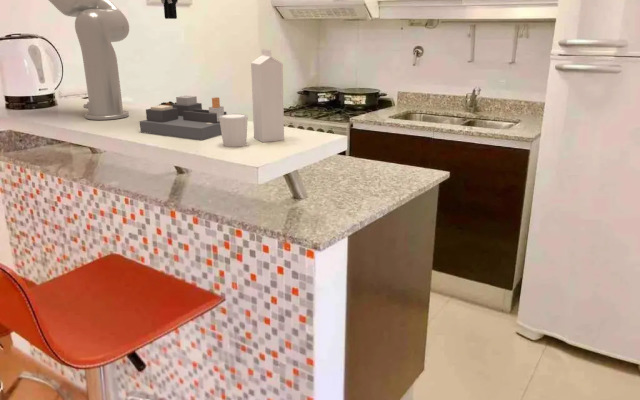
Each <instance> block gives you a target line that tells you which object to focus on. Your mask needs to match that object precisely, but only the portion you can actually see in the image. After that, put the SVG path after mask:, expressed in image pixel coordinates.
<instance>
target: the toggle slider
mask: <svg viewBox="0 0 640 400" xmlns="http://www.w3.org/2000/svg"><path fill="white" fill-rule="evenodd" d="M220 102H221V101H220V97H218V96H217V97H215V96H214V97H212V98H211V104H212V106H209V107H208V110H209V113H211V114H217V122H219V121H220V120H219V116H221V115H224V112H225V107H224V106H222V105H221V103H220Z"/></svg>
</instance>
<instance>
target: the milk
mask: <svg viewBox="0 0 640 400" xmlns="http://www.w3.org/2000/svg"><path fill="white" fill-rule="evenodd" d="M250 66H251V67H250V69H251V71H250V72H251V93H252V115H253V117H252V119H253V120H252V121H253V122H252V124H253V138H254V139H255V140H258V141H260V142H261V143H268V142H277V141H284V140H285V123H284V122H285V120H284V119H285V118H284V116H285V115H284V71H283V67H284V66H283V63H282V62H281V61H279V60H277V59H276V58H274V57H272V51H271V49H265V48H262V49H261V55H260V56H259V57H257V58H256V59H254V60H253V61H251V63H250Z"/></svg>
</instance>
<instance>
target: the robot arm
mask: <svg viewBox="0 0 640 400" xmlns="http://www.w3.org/2000/svg"><path fill="white" fill-rule="evenodd" d="M48 1H49V3H51V4H52V6H54V7H55V8H56V9H57V11H59V13H61V14H63V15H64V16H66V17H75V21H74V29H75V34H76V37H77V39H78V42H79V47H80V50H81V55H82V61H83V68H84V76H85V83H86V90H87V91H86V92H87V95H88V97H87V99H88V101H86V103H84V104H83V106H82V107H83V108H84V109H87V111H88V112H87V113H85V115H84V117H85V118H86V119H87V120H95V121H102V120H103V121H104V120H105V121H107V120H117V119H122V118H123V119H124V118H127V117H129V116H130V114H129V111H128V110H124V108H123V99H122V92H121V91H122V90H121V82H120V75H119V74H120V73H119V66H118V65H119V64H118V59H117V54H116V51H115V49H114V47H113V45H112V43H115V42H116V43H117V42H120V41H121V42H122V41H123V40H126V38H127V37H128V35H129V33H130V24H129V21H128V19H127V17H126V15H125V14H124V13H123V12H122V10H120V9H119V8H118V7H117V6H116V5H115V4H114V3H113V2H112V1H111V0H48ZM178 1H179V0H160V2H161V4H163V11H164V12H163V14H164V19H166V20H170V19H171V20H172V19H173V20H175V19H178V17H177V16H178V14H177V4H178V3H179V2H178Z"/></svg>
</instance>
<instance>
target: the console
mask: <svg viewBox="0 0 640 400" xmlns="http://www.w3.org/2000/svg"><path fill="white" fill-rule="evenodd" d="M202 105H203V104H202V102H197V104H193V105H188V106H187V105H177V104H172V108H173V109H168V110H163V111H160V110H151V108H147V109H145V115H146V119H144V120H140V121H139V130H140V133H143V134H144V133H145V134H149V135H150V134H151V135H157V136H158V135H160V136H166V137H167V136H168V137H176V138H179V139H181V138H182V139H189V140H197V141H204V140H208V139H211V138H215V137H219V136H222V133H221V126H220V121H219V122H217V114H211V113H209V109H203V106H202ZM226 114H228V113H227V111H224V115H226Z"/></svg>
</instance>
